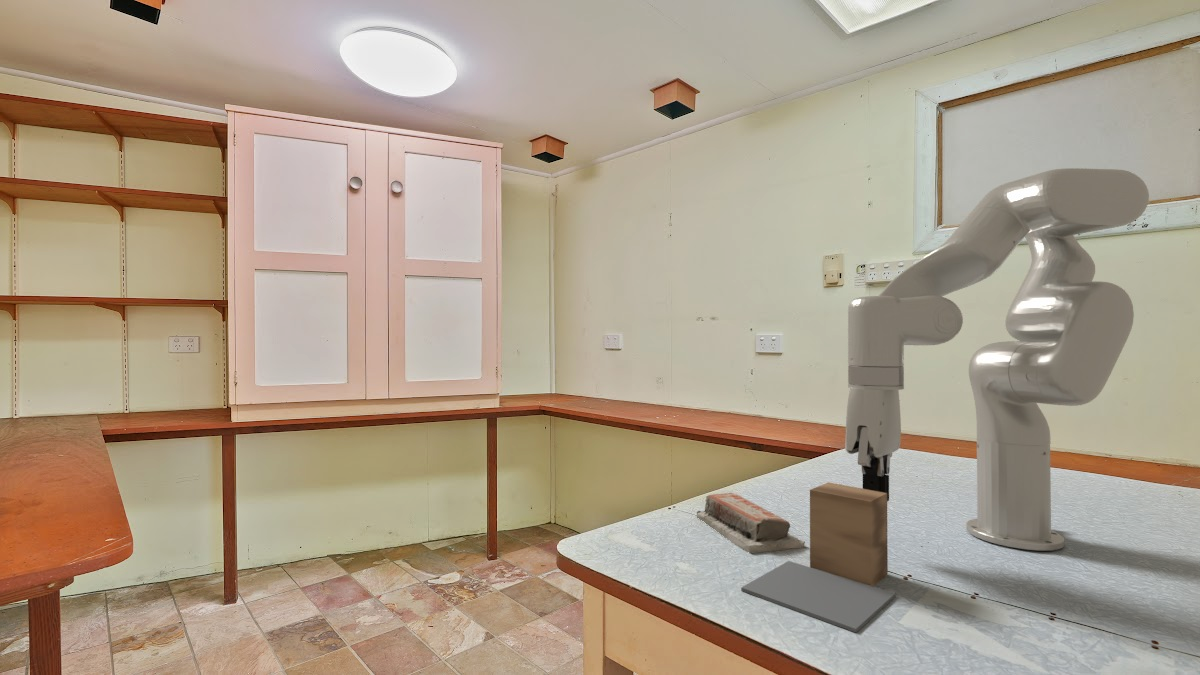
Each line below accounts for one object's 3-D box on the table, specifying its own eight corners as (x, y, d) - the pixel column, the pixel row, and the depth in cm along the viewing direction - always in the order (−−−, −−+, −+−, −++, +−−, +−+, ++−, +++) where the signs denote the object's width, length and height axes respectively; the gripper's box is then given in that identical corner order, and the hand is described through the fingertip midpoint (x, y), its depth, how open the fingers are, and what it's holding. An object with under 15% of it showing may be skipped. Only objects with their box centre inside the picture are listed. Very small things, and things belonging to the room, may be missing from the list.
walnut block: (829, 557, 80) (828, 482, 80) (887, 574, 74) (887, 493, 74) (810, 569, 76) (809, 489, 76) (870, 588, 70) (870, 501, 70)
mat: (788, 563, 78) (788, 560, 78) (895, 596, 67) (895, 593, 67) (741, 590, 69) (741, 587, 69) (855, 632, 59) (855, 628, 59)
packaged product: (694, 492, 99) (743, 489, 101) (694, 519, 99) (743, 515, 101) (748, 524, 81) (805, 518, 84) (748, 556, 81) (805, 550, 84)
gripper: (868, 375, 90) (868, 487, 90) (829, 379, 80) (829, 505, 80) (918, 378, 85) (919, 496, 85) (884, 381, 75) (884, 517, 74)
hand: (875, 500), depth 82 cm, fingers closed
